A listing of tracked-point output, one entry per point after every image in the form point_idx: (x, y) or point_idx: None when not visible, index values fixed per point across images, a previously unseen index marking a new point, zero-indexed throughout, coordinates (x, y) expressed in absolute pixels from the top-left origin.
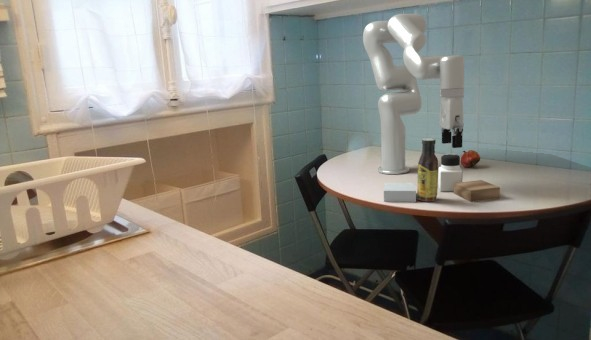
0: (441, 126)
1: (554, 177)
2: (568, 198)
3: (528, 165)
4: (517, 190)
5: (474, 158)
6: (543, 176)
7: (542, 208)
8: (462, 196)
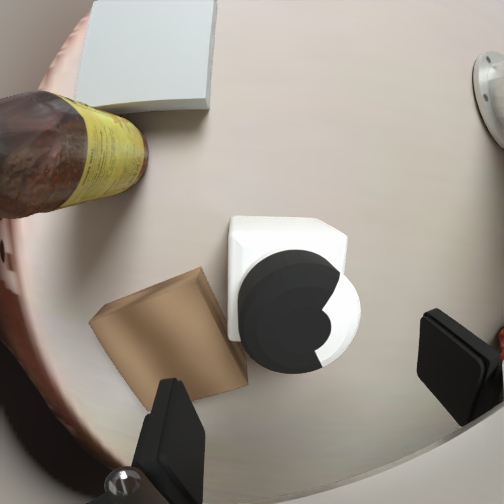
0: (480, 427)
1: None
2: None
3: None
4: (245, 437)
5: None
6: None
7: (93, 433)
8: (145, 290)
